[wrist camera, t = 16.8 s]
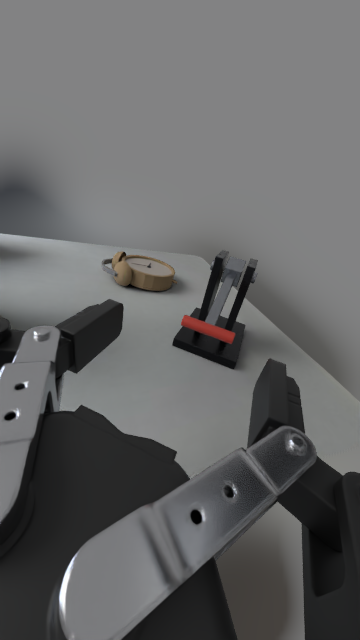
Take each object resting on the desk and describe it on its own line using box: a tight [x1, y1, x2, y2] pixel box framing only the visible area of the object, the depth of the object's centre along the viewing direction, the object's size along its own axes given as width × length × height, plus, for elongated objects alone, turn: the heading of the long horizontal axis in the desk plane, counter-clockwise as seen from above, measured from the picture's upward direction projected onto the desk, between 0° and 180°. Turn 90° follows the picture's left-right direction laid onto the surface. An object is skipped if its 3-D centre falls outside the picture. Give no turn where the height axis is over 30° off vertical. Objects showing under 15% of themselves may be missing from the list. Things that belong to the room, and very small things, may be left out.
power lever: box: [181, 257, 246, 344], centre depth 28 cm, size 13×6×2 cm, turn 160°
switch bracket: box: [173, 250, 258, 369], centre depth 33 cm, size 11×9×13 cm
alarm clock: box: [101, 252, 177, 291], centre depth 48 cm, size 11×5×15 cm
